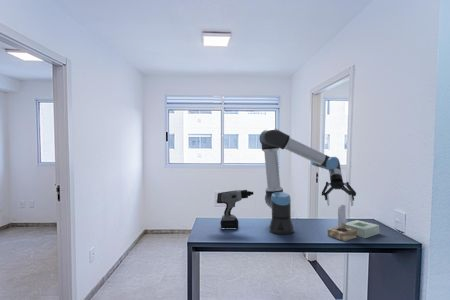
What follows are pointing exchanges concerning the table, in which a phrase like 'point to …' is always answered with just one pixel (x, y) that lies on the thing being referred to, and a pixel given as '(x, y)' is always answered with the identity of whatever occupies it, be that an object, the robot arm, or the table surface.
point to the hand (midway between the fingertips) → (340, 204)
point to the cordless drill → (231, 206)
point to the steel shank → (341, 218)
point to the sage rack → (363, 228)
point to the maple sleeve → (342, 234)
